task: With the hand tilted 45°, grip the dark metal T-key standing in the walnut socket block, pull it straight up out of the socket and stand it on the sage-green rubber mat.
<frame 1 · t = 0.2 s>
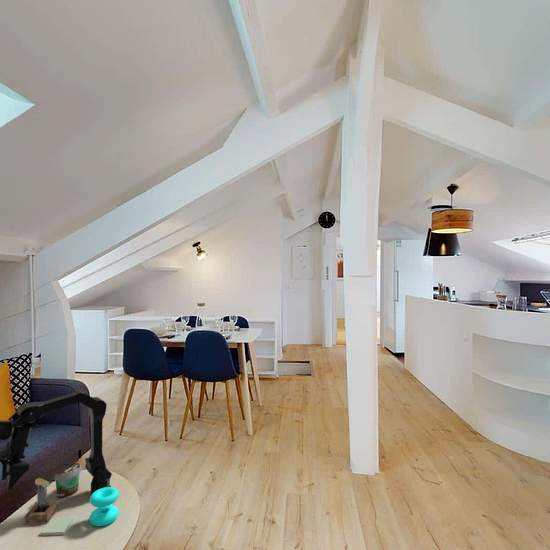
hand: (6, 484, 140), 15 cm above the table, tool pointing down, fingers open, 9 cm apart
t key: (41, 498, 146), in the socket block
food container: (71, 493, 163), on the table
mat: (57, 527, 140), on the table
donuts: (104, 519, 145), on the table
socket block: (41, 516, 146), on the table
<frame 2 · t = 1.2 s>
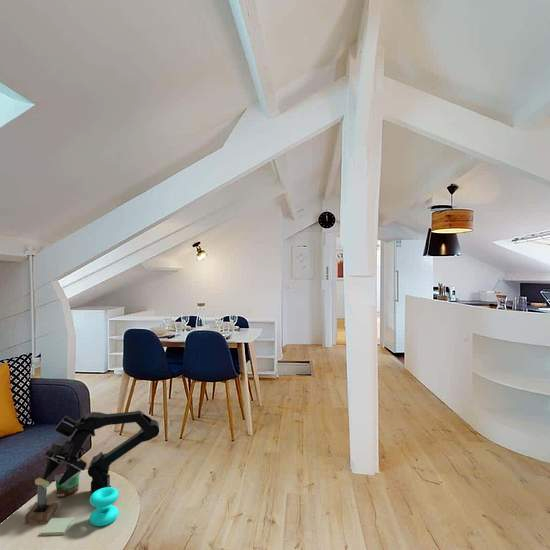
hand: (51, 482, 149), 11 cm above the table, tool tilted 45°, fingers open, 9 cm apart
nothing on the table moved.
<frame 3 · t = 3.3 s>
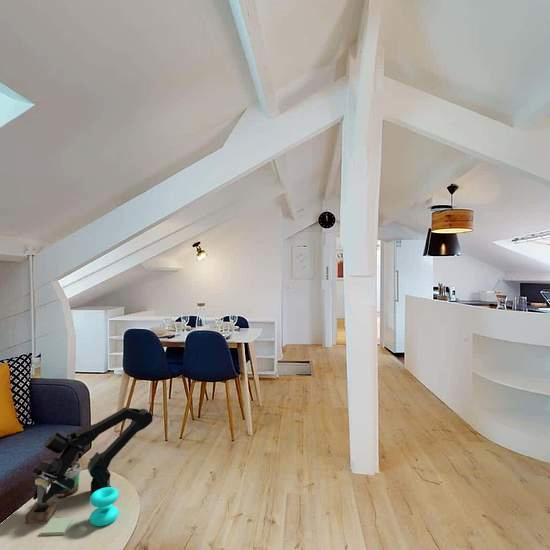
hand: (38, 501, 145), 7 cm above the table, tool tilted 45°, fingers closed on t key, 5 cm apart
t key: (41, 498, 146), in the socket block, touching gripper
everything else where it was.
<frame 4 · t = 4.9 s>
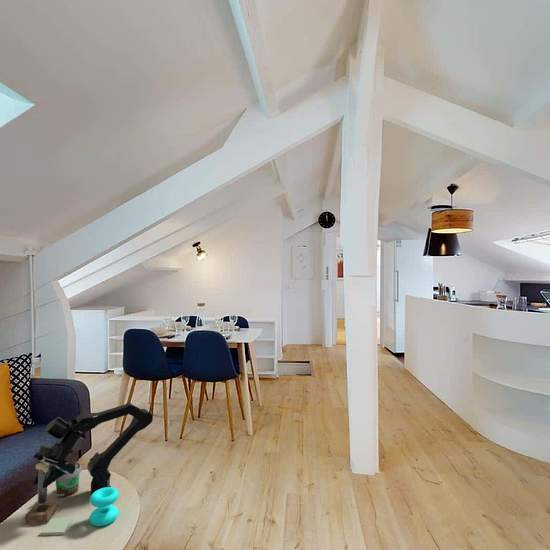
hand: (38, 485, 145), 12 cm above the table, tool tilted 45°, fingers closed on t key, 5 cm apart
t key: (42, 483, 146), point 13 cm above the table, touching gripper
everything else where it was.
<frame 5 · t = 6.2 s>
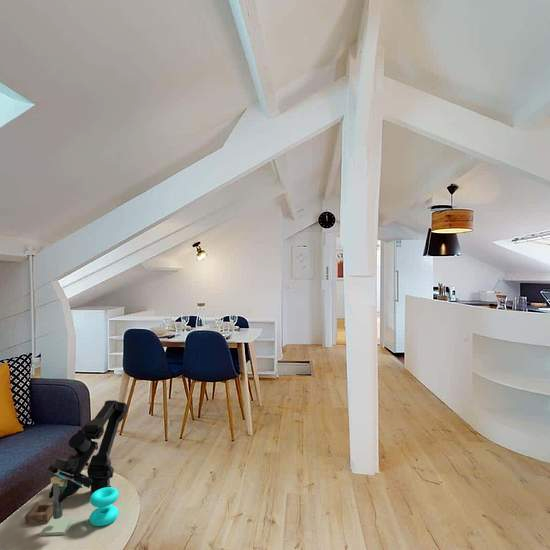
hand: (54, 500, 139), 11 cm above the table, tool tilted 45°, fingers closed on t key, 5 cm apart
t key: (57, 497, 140), point 11 cm above the table, touching gripper
everything else where it was.
when the fingers open (9 cm above the table, at t = 6.9 s): t key drops 1 cm, resting on mat.
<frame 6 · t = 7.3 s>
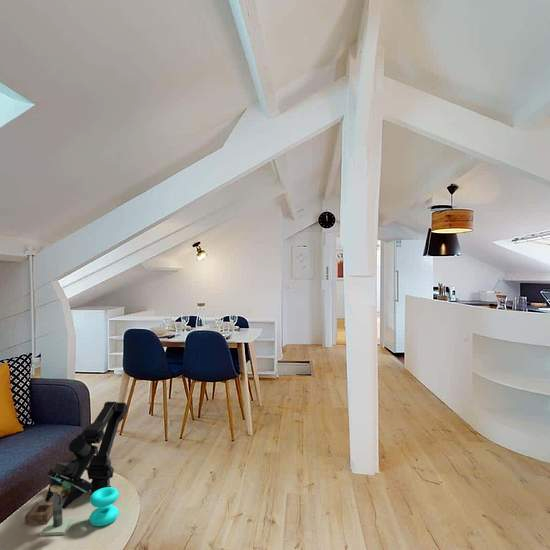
hand: (54, 504, 139), 9 cm above the table, tool tilted 45°, fingers open, 9 cm apart
t key: (57, 506, 140), on the mat, point 8 cm above the table
everything else where it was.
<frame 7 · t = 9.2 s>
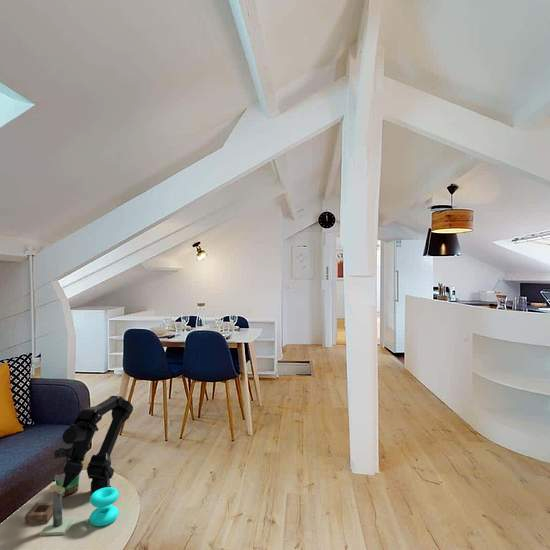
hand: (64, 484, 148), 12 cm above the table, tool tilted 25°, fingers open, 9 cm apart
nothing on the table moved.
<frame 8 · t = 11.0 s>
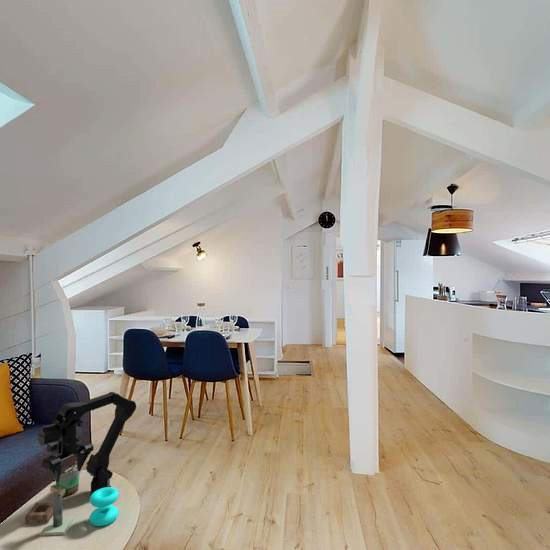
hand: (68, 476, 153), 12 cm above the table, tool pointing down, fingers open, 9 cm apart
nothing on the table moved.
at the end: t key inside the target area on the mat (0.1 cm from its centre), point 7.8 cm above the mat's base; t key touching mat; the gripper is holding nothing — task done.
